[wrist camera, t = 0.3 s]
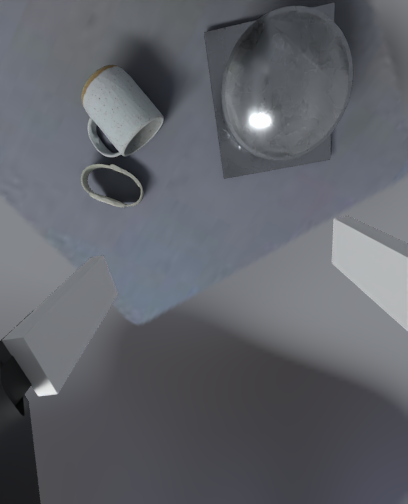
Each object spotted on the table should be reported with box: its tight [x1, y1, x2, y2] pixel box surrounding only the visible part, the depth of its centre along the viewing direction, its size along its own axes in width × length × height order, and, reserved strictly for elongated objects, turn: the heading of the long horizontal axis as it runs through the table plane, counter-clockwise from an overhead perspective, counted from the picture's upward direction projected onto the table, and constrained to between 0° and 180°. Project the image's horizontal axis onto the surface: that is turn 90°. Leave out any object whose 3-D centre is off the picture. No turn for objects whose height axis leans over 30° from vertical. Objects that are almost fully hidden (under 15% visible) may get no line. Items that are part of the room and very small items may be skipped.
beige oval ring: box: [81, 164, 144, 207], centre depth 36 cm, size 9×6×5 cm
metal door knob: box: [204, 2, 353, 179], centre depth 31 cm, size 18×16×7 cm
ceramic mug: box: [81, 65, 164, 157], centre depth 32 cm, size 11×8×8 cm
